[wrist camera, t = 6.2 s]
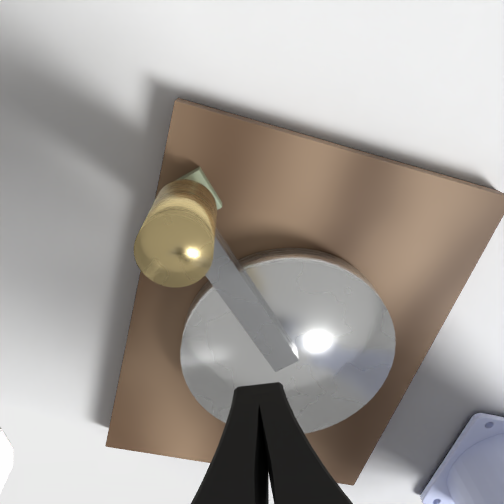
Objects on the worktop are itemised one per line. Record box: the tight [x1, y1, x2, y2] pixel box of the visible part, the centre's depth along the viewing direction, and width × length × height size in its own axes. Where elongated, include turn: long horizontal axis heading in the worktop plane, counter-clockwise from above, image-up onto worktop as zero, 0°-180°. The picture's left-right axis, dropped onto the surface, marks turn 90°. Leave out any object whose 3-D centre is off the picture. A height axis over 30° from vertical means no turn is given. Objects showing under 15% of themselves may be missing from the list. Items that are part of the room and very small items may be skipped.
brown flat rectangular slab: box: [106, 98, 504, 485], centre depth 22 cm, size 15×19×2 cm
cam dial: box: [134, 179, 396, 434], centre depth 18 cm, size 15×10×5 cm
